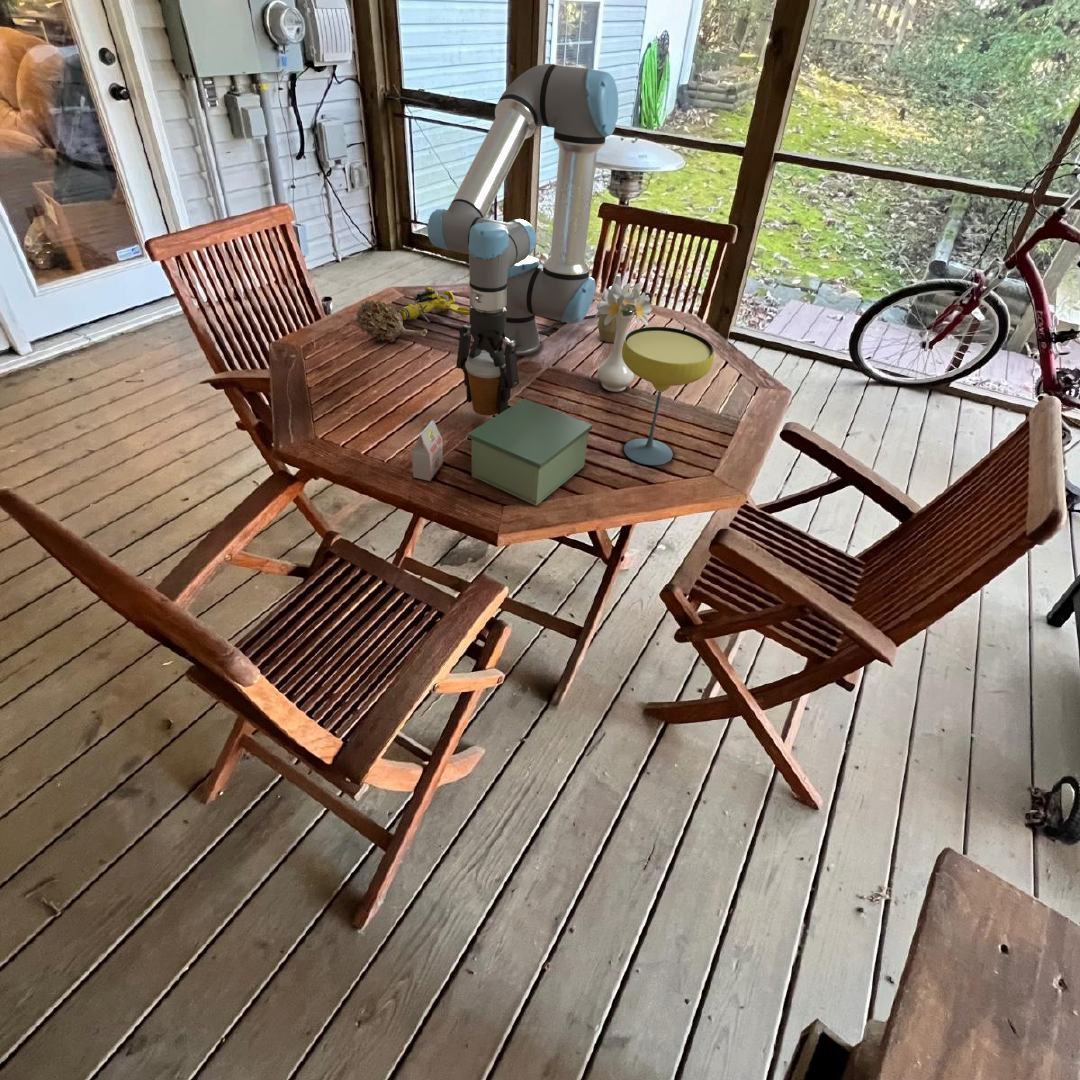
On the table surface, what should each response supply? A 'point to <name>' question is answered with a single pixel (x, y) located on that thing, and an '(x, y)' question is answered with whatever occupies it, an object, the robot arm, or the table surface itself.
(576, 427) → the green lidded box
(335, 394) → the table surface
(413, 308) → the sprinkler
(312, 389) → the table surface
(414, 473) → the white gable carton
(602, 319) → the squeeze bottle
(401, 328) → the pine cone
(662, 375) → the cocktail glass
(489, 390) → the disposable coffee cup
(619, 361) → the flower vase
